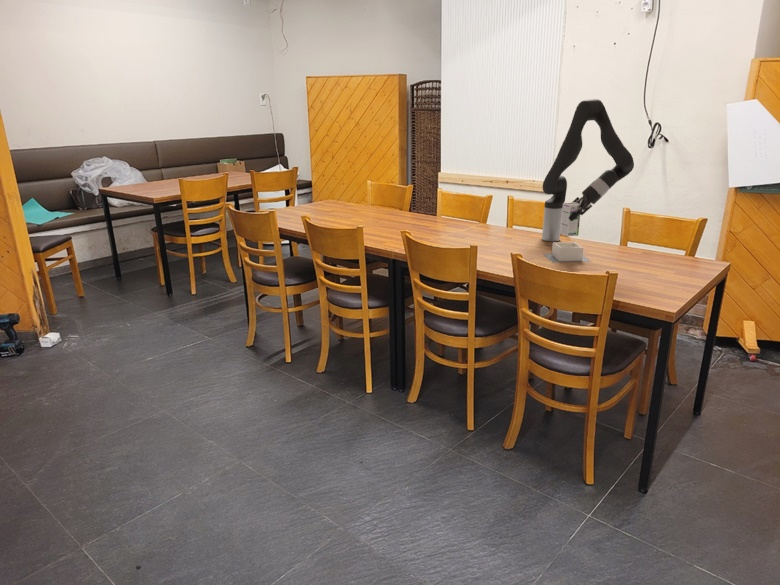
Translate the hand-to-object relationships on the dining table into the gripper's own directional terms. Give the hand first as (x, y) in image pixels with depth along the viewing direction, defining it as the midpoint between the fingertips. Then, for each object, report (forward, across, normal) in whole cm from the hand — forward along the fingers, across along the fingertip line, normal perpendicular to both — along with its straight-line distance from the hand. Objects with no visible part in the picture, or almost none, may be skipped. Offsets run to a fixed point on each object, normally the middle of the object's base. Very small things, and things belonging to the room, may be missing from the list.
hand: (567, 217), depth 245 cm
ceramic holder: (+12, 0, +14) cm, 19 cm away
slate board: (+13, 0, +15) cm, 20 cm away
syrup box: (+5, 0, +7) cm, 8 cm away
